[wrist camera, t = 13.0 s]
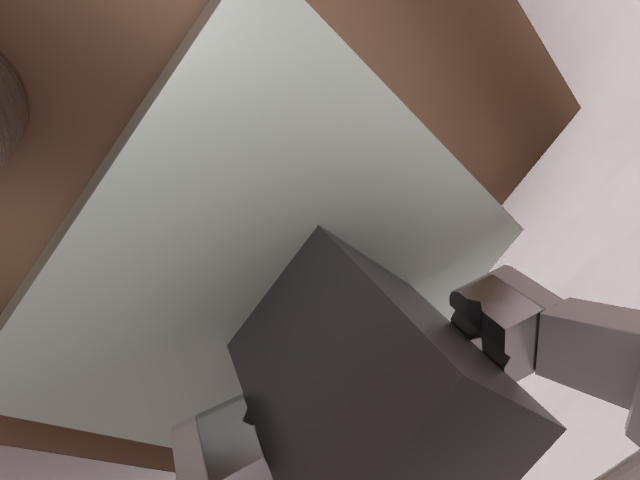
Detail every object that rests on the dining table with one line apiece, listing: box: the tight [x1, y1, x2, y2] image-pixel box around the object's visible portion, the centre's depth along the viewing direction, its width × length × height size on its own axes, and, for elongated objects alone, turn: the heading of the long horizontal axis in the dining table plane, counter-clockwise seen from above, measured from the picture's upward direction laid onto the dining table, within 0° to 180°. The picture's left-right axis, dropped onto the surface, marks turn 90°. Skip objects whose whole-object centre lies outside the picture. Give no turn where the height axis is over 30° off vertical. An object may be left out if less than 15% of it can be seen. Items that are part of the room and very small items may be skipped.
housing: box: [0, 0, 581, 473], centre depth 12 cm, size 16×14×3 cm
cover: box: [0, 0, 566, 480], centre depth 9 cm, size 10×10×6 cm
